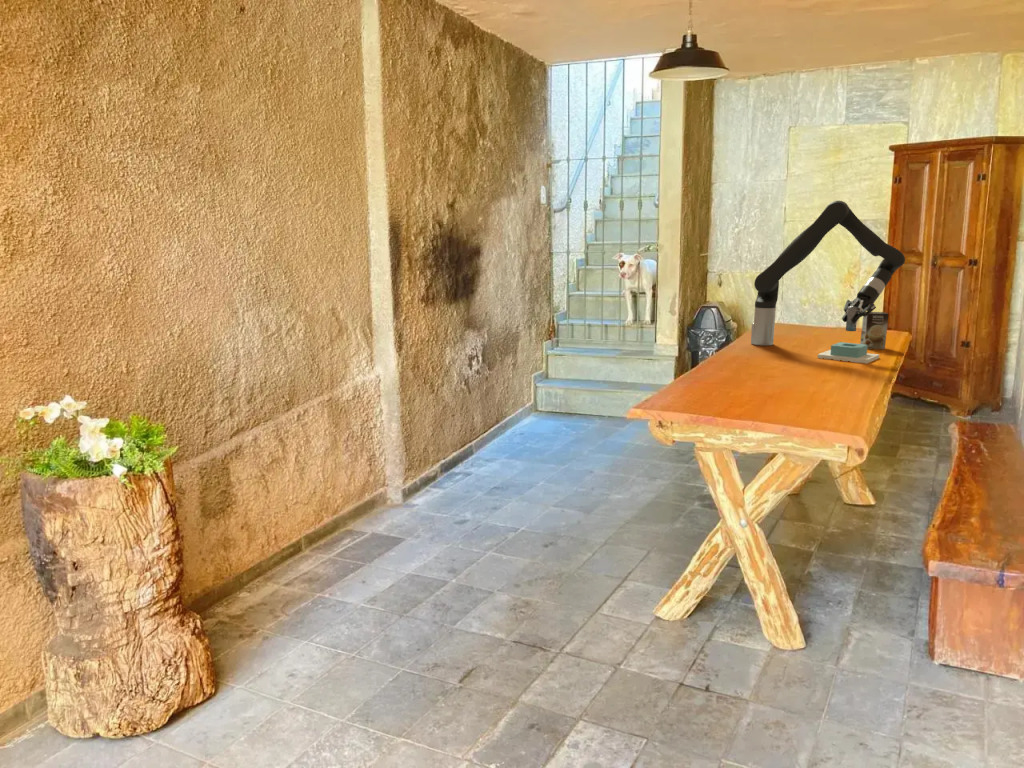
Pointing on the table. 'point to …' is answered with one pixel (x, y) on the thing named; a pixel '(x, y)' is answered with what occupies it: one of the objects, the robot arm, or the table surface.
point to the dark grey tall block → (850, 314)
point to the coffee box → (874, 330)
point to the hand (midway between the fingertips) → (848, 321)
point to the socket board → (859, 360)
